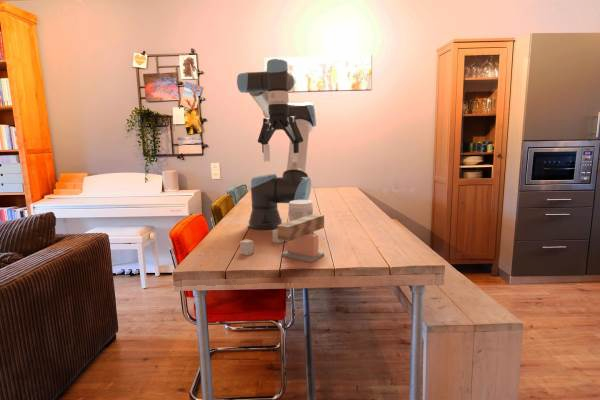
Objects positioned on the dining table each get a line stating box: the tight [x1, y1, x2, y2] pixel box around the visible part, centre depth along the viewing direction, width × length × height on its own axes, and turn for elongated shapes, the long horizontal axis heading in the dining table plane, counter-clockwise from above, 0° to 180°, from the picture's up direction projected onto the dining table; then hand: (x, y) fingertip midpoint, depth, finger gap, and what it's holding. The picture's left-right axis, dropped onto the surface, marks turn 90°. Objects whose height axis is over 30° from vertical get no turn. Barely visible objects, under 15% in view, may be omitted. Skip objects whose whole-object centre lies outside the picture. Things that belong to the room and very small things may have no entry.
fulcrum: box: [281, 233, 325, 264], centre depth 121 cm, size 12×8×8 cm, turn 53°
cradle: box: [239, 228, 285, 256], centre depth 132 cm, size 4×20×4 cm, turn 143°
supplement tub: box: [288, 199, 315, 234], centre depth 143 cm, size 10×10×15 cm
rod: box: [276, 213, 325, 242], centre depth 120 cm, size 20×4×4 cm, turn 143°
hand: (280, 161), depth 136 cm, fingers open, 13 cm apart
